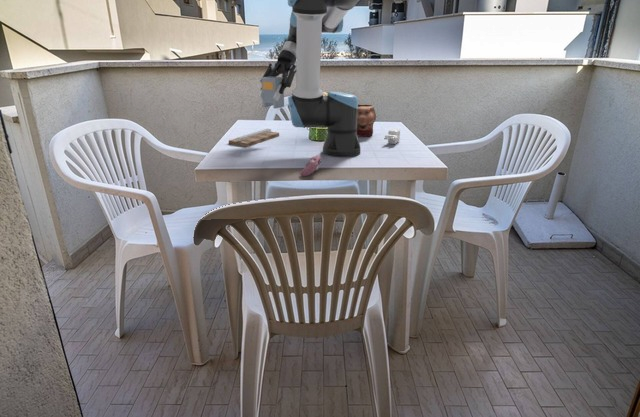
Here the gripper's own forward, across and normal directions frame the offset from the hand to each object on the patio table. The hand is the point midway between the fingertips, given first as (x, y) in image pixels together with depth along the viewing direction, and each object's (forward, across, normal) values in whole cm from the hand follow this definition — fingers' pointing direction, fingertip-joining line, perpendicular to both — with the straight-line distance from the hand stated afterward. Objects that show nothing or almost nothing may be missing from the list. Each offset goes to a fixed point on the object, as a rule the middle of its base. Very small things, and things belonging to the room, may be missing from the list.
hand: (268, 98), depth 173 cm
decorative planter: (-12, -27, -40) cm, 50 cm away
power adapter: (-5, -46, -32) cm, 56 cm away
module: (0, 0, -5) cm, 5 cm away
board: (+13, +9, -14) cm, 21 cm away
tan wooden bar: (+12, +9, -13) cm, 20 cm away
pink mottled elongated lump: (+32, -38, +6) cm, 50 cm away
